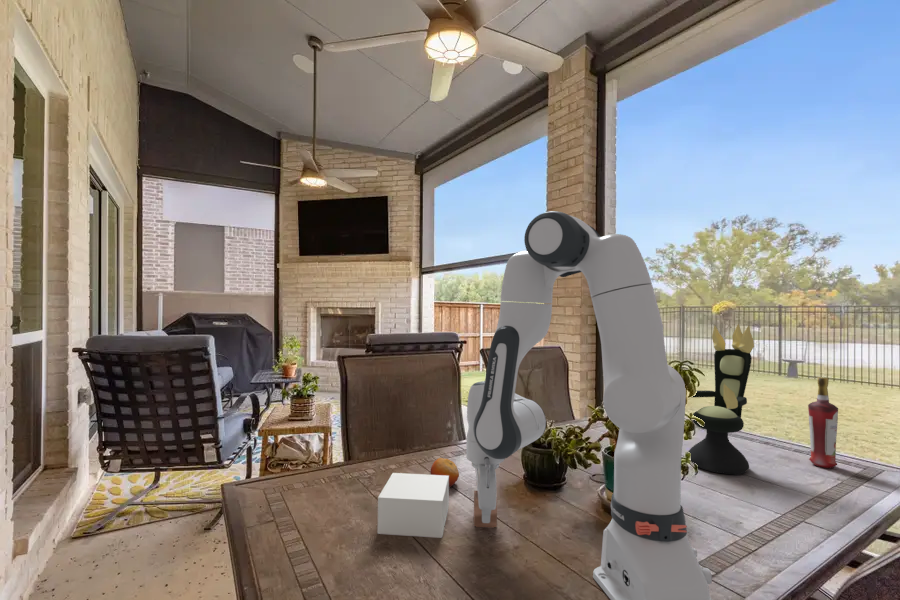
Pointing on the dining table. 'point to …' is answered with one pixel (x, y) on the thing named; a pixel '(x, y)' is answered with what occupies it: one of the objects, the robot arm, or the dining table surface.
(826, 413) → the liquor
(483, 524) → the terracotta block
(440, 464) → the fruit
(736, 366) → the crowned throne chair
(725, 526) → the dining table surface
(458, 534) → the dining table surface
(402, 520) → the cream box
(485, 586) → the dining table surface
